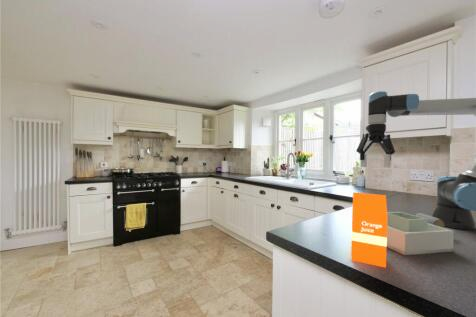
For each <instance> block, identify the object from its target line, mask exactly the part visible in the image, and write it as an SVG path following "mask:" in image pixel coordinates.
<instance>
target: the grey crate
mask: <svg viewBox="0 0 476 317" xmlns="http://www.w3.org/2000/svg"><path fill="white" fill-rule="evenodd" d="M454 234H455V231H454V230H452V229H449V228H446V227H444V228H442V227H439V226H436V225H432V224H429V223H427V231H421V232H402V231H400V230H397V229H394V228H392V227H389V226H387V249H391V250H393V251H394V252H397V253H398V254H401V255H403V256H413V255H424V254H425V255H426V254H427V255H428V254H436V253H448V252H451V253H452V252H454V236H455V235H454Z"/></svg>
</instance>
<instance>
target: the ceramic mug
mask: <svg viewBox="0 0 476 317" xmlns="http://www.w3.org/2000/svg"><path fill="white" fill-rule="evenodd" d="M414 216H418V217H421V218H425V219H428V222H427V223H429V224H432V225H436V226H439V227H442V228H445V226H444V223H443V221H442V220H440V219H438V218H435V217H432V215H428V214H426V213H422V212H417V213H416V214H415V215H414Z"/></svg>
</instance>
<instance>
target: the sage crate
mask: <svg viewBox="0 0 476 317" xmlns="http://www.w3.org/2000/svg"><path fill="white" fill-rule="evenodd" d="M387 217H388V218H387V226H389V227H392V228H394V229H397V230H400V231H402V232H421V231H427V222H428V219H425V218H421V217H418V216H415V215H413V214H411V213H406V212H404V211H387Z"/></svg>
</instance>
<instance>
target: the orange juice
mask: <svg viewBox="0 0 476 317" xmlns="http://www.w3.org/2000/svg"><path fill="white" fill-rule="evenodd" d="M387 212H388V208H387V195H385V194H376V193H364V192H353V194H352V212H351V213H352V214H351V215H352V216H351V242H350V243H351V249H350V250H351V251H350V254H351V255H350V256H351V257H350V259H351V261H354V262H359V263H364V264H367V265H373V266H376V267H380V268H381V267H382V268H386V267H387V249H388V247H387V218H388V217H387Z"/></svg>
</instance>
